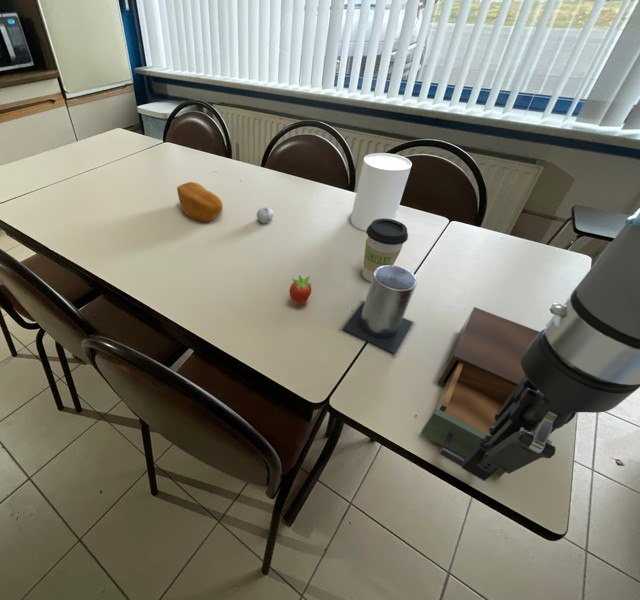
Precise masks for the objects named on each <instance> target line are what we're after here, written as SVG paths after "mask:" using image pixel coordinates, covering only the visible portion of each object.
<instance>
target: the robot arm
mask: <svg viewBox="0 0 640 600" xmlns="http://www.w3.org/2000/svg"><path fill="white" fill-rule="evenodd" d="M624 223H625V224H624V225H623V227H622V229H621V230H620V231H619V232H618V234H617V235H616V236H615V238H613V240H612V241H611V242H610V244H609V245H608V246H607V248H605V250H604V251H603V252H602V253H601V255H600V256H599V258H598V259H597V260H596V262H595V263H594V264H592V267H591V268H590V269H589V270H588V272H586V274H585V276H584V277H583V278H582V279H581V280H580V282H579V283H578V285H577V286H576V287H575V288H574V289H573V290H572V292H571V294H570V295H569V296H568V297H567V299H566V301H565V303H564V304H562V303H558V302H556V303H555V302H554V303H552V304H551V306H550V308H549V312H550V313H551V314H552V315H553V316H552V317H551V318H550V320H549V321H548V322H547V324H545V328H543V329H541V330H540V331H539V334H538V335H537V336H536V337H535V339H534V340H533V341H532V342H531V344H530V345H529V346H528V347H527V349H526V350H525V351H524V352H523V354H522V357H521V365H522V369H523V371H524V373H525V375H524V377H523V378H522V379H521V381H520V382H519V384H518V385H517V386H516V388H515V389H514V390H513V392H512V393H511V395H510V396H509V397H508V399H507V400H506V401H505V403H504V404H503V405H502V407H501V408H500V410H499V411H498V412H497V413H496V414H495V416H494V417H495V418H494V420H496V422H495V423H494V424H493V426H491V427H490V429H489V434H491V435H490V436H488V435H486V436H485V437H484V438H483V439H482V438H481V439H480V441H479V443H478V445H477V446H476V447H475V448H474V449H473V450H472V451H471V453H470V454H469V455H468V456H467V457H466V458H465V459H464V463H463V466H461V469H463V470H464V471H466V472H468V473H470V474H471V475H473V476H475V477H477V478H478V479H480V480H482V481H483V482H486V481H487V479H489V478H490V477H491V476H493V473H494V472H495V471H496V470H497V469H498V468H499V469H501V470H503V471H504V472H505V473H506V474H508V475H509V474H512V473H513V472H516V471H518V470H519V469H521V468H523V467H525V466H527V465H530V464H531V463H533V462H535V461H538V460H539V459H541V458H542V459H551V458H552V457H554V456H555V454H556V450H557V449H556V446H554V445H552V444H553V440H551V439H549V437H550V435H551V434H553V432H554V431H556V430H558V429H561V428H562V427H563V426H564V425H567V424H569V423H570V422H571V421H572V420H573V419H574V418H575V416H576V415H577V413H589V414H591V413H592V414H594V413H596V414H597V413H599V414H600V413H605V412H608V411H611V410H613V409H614V408H616V407H617V406H618V405H619V404H621V403H622V402H623V401H624V400H626V399H627V398H628V397H630V396H631V395H632V394H633V393H635V392H636V391H637V390H638V389H640V207H639V208H638V209H637V210H636V211H634V213H633V214H632V215H631V216H629V217H627V218H626V219H625V220H624Z"/></svg>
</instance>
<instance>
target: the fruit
mask: <svg viewBox="0 0 640 600" xmlns="http://www.w3.org/2000/svg"><path fill="white" fill-rule="evenodd" d="M310 277H311V276H310V275H309V276H307V277H305V278H303V277H302V276H301V274H299V276H298V279H294V278H292V279H291V280H292V281H293V282H292V283H291V284H290V287H289V296H290V298H291V299H292V301H293V302H294V303H296V304H297V305H304V304H305V303H306V302H307V300H308V299H309V298H310V296H311V294H312V285H313V284H314V283H310V282H309V279H310Z"/></svg>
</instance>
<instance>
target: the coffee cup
mask: <svg viewBox="0 0 640 600" xmlns="http://www.w3.org/2000/svg"><path fill="white" fill-rule="evenodd" d="M365 232H366V235H367V236H366V240H365V246H364V253H363V254H364V255H363V263H362V264H363V266H362V273H361V275H362V277H363V279H365V280H366V281H367V282H370V283H371V281H372V278H373V274H374V271H375V270H376V269H377V268H379V267H381V266H386V265H393V266H395V263H396V261H397V259H398V257H399V255H400V253H401V251H402V249H403V245H404V243H406V242H407V241H408V239H409V233H408V228H407V226H406V225H405V224H404V223H402V222H401V221H399V220H396V219H395V220H392V219H377V220H374V221H373V222H372V223H371V225H369V226H368V228H367V231H365Z"/></svg>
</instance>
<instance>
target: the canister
mask: <svg viewBox="0 0 640 600" xmlns="http://www.w3.org/2000/svg"><path fill="white" fill-rule="evenodd" d="M412 165H413V163H412V161H411V160H410V159H409V158H406V157H405V156H402V155H400V154H394V153H389V152H388V153H387V152H375V153H374V152H373V153H369V154H366V155H365V156H364V157H363V161H362V165H361V169H360V174H359V179H358V183H357V188H356V193H355V197H354V201H353V206H352V211H351V214H350V215H351V216H350V223H351V224H352V225H353V226H354V227H355V228H357V229H358V230H359V229H360V230H361V231H364V232H366V231H367V228H368V226H369V225H371V223H372V222H373V221H374V220H377V219H392V220H396V217H397V213H398V210H399V207H400V204H401V201H402V197H403V194H404V191H405V188H406V185H407V182H408V179H409V175H410V173H411V168H412Z"/></svg>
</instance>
